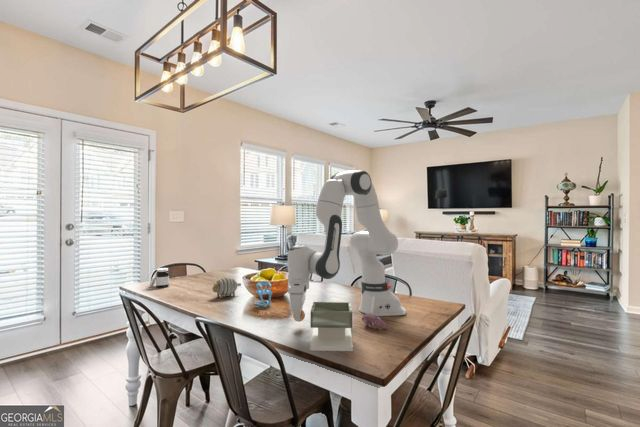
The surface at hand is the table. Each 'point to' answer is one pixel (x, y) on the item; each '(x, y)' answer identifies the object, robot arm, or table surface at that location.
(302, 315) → the ball
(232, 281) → the toy sheep
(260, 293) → the light blue lumpy piece
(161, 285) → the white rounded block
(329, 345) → the white stand
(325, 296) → the table surface
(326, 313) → the green open box
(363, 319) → the purple grapes
